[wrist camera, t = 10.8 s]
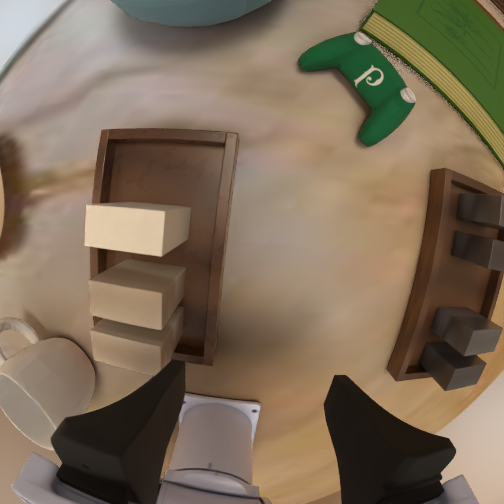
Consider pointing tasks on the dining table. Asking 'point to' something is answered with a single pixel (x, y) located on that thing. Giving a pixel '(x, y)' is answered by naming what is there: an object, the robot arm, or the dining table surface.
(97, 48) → the dining table surface
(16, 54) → the dining table surface
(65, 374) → the mug
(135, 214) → the cream rectangular block
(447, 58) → the hardcover book
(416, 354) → the wooden desk organizer
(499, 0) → the book
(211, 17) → the vase
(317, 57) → the gaming controller
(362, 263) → the dining table surface
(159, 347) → the brown wooden tray
